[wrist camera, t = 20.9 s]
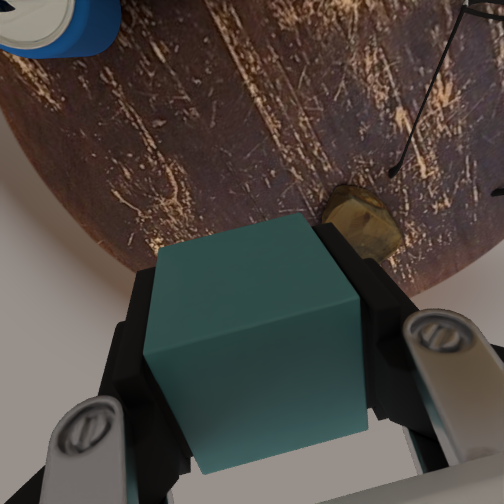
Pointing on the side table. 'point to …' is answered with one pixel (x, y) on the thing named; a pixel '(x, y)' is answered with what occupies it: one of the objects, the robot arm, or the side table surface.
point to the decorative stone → (363, 222)
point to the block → (256, 343)
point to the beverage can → (58, 27)
